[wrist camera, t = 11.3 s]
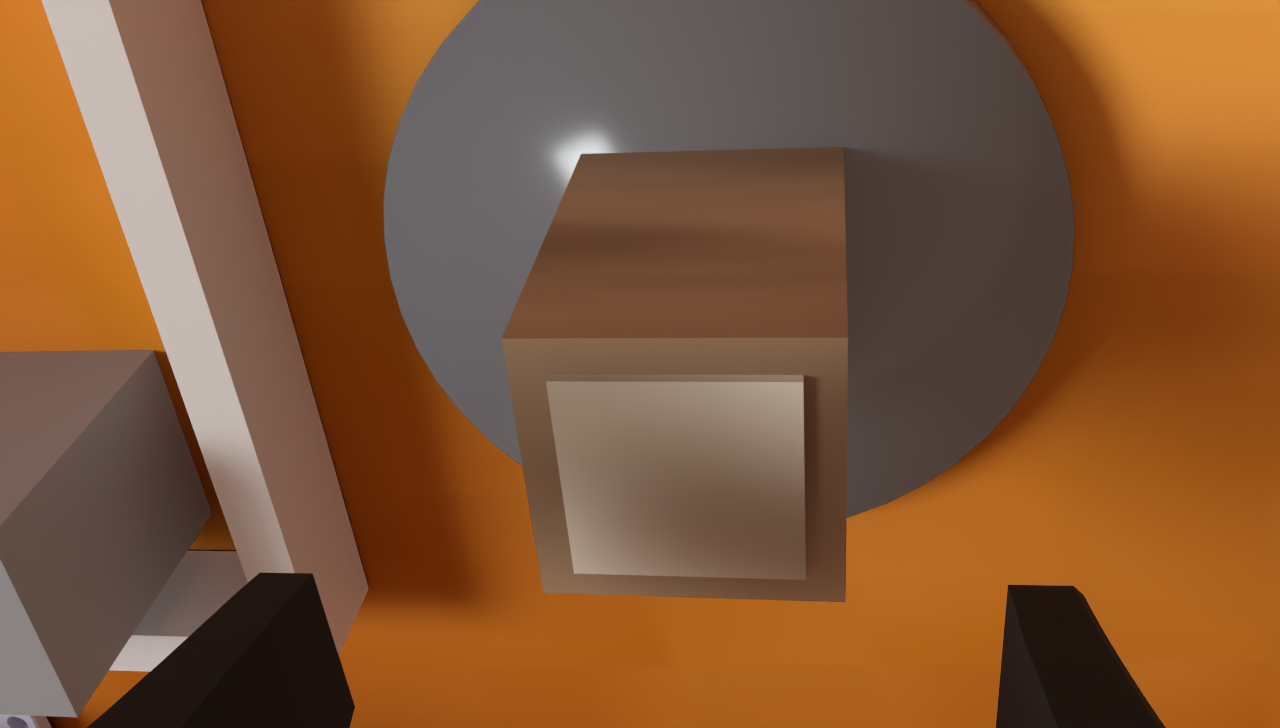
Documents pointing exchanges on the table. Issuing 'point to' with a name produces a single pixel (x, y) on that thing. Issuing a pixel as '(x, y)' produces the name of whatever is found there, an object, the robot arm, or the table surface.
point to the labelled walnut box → (688, 377)
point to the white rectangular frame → (210, 310)
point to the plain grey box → (85, 517)
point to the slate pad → (754, 119)
